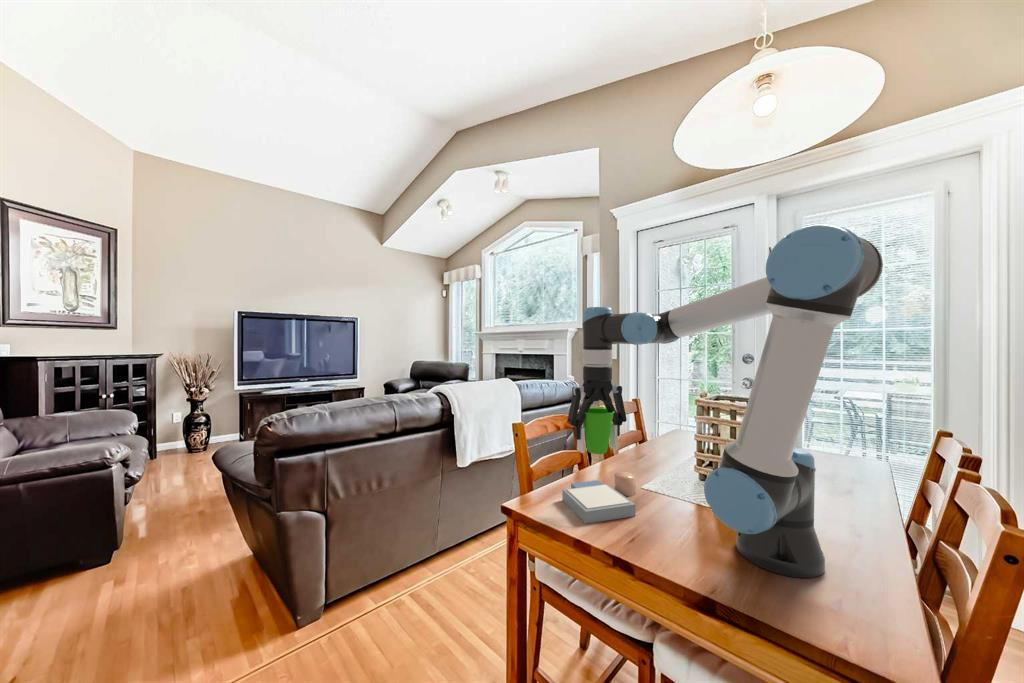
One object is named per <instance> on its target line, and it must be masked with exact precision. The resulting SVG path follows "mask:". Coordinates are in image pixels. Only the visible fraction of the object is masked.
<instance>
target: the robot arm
mask: <svg viewBox="0 0 1024 683" xmlns="http://www.w3.org/2000/svg"><path fill="white" fill-rule="evenodd" d="M883 268H884V263H883V257H882V255H881V253H880V251H879V249H878V248H877V247H876V246H875V245H874V243H872V242H870V241H869V240H867V239H865V238H862V237H860V236H858V235H857V234H856V233H855V232H852V231H851V230H849V229H848V228H845V227H841V226H834V225H829V224H814V225H812V224H811V225H808V226H803V227H801V228H798V229H796V230H793V231H791V232H790V233H788V234H787V235H785V236H784V237H782V238H781V239H780V240H779V241H778V242H777V243H776V244H775V245H774V247H773V248H772V249H771V250H770V252H769V254H768V256H767V259H766V263H765V277H763V278H760V279H757V280H754V281H751V282H748V283H744V284H742V285H739V286H736V287H734V288H733V287H732V288H731V289H730V288H729V289H727V290H725V291H722V292H718V293H716V294H713V295H710V296H707V297H705V298H701V299H699V300H696V301H693V302H690V303H687V304H683V305H681V306H678V307H675V308H672V309H670V310H666V311H664V312H661V313H656V314H655V313H649V312H642V311H641V312H637V311H635V312H628V313H626V312H625V313H616V314H615V313H613V309H612V307H610V306H591V307H586V308H584V311H583V318H582V333H583V337H582V340H583V341H582V343H583V345H582V346H583V347H582V348H583V350H582V351H583V352H582V353H583V354H582V358H583V359H582V363H583V364H584V366H583V367H582V381H583V384H582V385H581V386H577V387H576V386H573V387H571V388H572V389H571V392H572V398H571V403H570V406H569V410H568V412H569V413H568V417H567V422H566V423H567V424H569V425H570V426H573V431H574V432H573V437H574V439H576V450H577V451H578V452H580V453H581V454H585V432H584V426H583V422H584V420H585V417H586V414H585V412H587V413H588V411H589V409H590V407H592V405H593V404H594V402H598V401H600V402H603V404H604V408H606V409H607V411H608V412H609V413H612V411H613V410H614V411H615V413H613V419H612V425H611V431H610V437H609V448H611V449H612V450H615V451H617V450H618V437H620V434H621V433H620V432H621V426H622V425H623V423H626V422H627V415H626V408H625V404H624V400H623V395H622V394H623V386H622V385H618V384H614V385H613V382H612V380H613V367H612V366H611V365H613V344H623V345H634V346H637V345H639V346H641V345H648V344H671V343H674V342H676V341H679V339H681V338H685V337H689V336H692V335H695V334H698V333H704V332H708V331H710V330H711V331H712V330H714V329H718V328H721V327H725V326H729V325H733V324H736V323H740V322H745V321H748V320H751V319H756V318H759V317H763V316H766V315H770V314H772V317H771V322H770V324H769V328H768V332H767V335H766V338H765V342H764V346H763V349H762V352H761V356H760V359H759V362H758V366H757V368H756V373H755V376H754V381H753V384H752V386H751V390H750V393H749V398H748V400H747V403H746V407H745V411H744V413H743V418H742V420H741V424H740V428H739V430H738V434H737V437H736V439H734V440H732V441H730V442H727V443H725V445H724V449H723V452H722V456H721V459H720V462H719V465H718V467H717V468H715V469H713V470H711V472H710V473H709V474H708V475H707V477H706V478H705V480H704V484H703V492H704V494H703V495H704V498H705V501H706V503H707V505H708V506H709V508H710V509H711V512H712V514H713V515H714V516H715V517H716V518H717V519H718V520H719V521H720V522H721V523H722V524H723V525H724V526H726V527H728V528H729V529H731V530H733V531H736V532H737V533H736V544H735V545H736V549H737V551H738V552H739V554H740V555H741V556H743V557H744V558H745V559H746V560H747V561H748V562H750V563H752V564H754V565H756V566H757V567H760V568H762V569H764V570H766V571H770V572H772V573H775V574H778V575H780V576H781V575H782V576H785V577H786V576H787V577H791V578H800V579H811V578H816V577H820V576H821V575H823V574H824V573H825V571H826V568H825V567H826V559H825V558H826V557H825V554H824V552H823V550H822V547H821V544H820V541H819V539H818V535H817V532H816V529H815V488H816V487H815V484H816V483H815V482H816V481H815V479H816V476H815V474H816V471H817V468H816V465H815V457H814V455H813V454H812V453H811V452H809V451H807V450H804V449H802V448H799V447H798V448H796V445H797V442H798V439H799V436H800V434H801V430H802V427H803V424H804V421H805V418H806V415H807V413H808V412H807V411H808V409H809V406H810V403H811V400H812V396H813V394H814V392H815V388H816V385H817V382H818V378H819V375H820V373H821V369H822V367H823V363H824V360H825V358H826V355H827V351H828V349H829V346H830V343H831V342H830V341H831V339H832V337H833V333H834V330H835V327H836V326H837V325H839V324H841V323H843V322H846V321H847V320H849V319H851V317H852V314H853V311H854V309H855V306H856V304H857V303H856V302H857V300H858V298H859V297H861V296H863V295H865V294H866V293H868V292H870V290H871V289H872V288H874V287H875V285H876V284H877V283H878V281H879V280H880V278H881V276H882V273H883ZM611 392H612V395H613V396H612V397H613V399H612V397H611V395H610V394H611ZM583 393H584V397H583V398H582V395H583ZM581 399H582V403H581ZM613 401H614V404H613ZM580 404H581V406H580ZM614 405H615V406H614Z"/></svg>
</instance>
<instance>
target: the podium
mask: <svg viewBox="0 0 1024 683" xmlns="http://www.w3.org/2000/svg"><path fill="white" fill-rule="evenodd" d="M561 492H562V493H561V494H562V502H564V503H565V504H566V506H568V507H569V509H571V511H573V513H574V514H575V515H576V516H578V517H579V519H580V520H582V522H583V523H584V524H592V523H600V522H605V521H606V522H607V521H611V520H612V521H613V520H618V519H623V518H624V519H625V518H632V517H636V503H634V502H633V501H631V499H629V498H627V496H623V495H622V494H620V493H619V492H618V491H616V490H615V488H613V487H612V486H611V485H609V484H608V483H603V485H595V486H587V487H579V488H571V487H570V488H564V489H562V490H561Z"/></svg>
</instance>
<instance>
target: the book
mask: <svg viewBox="0 0 1024 683" xmlns="http://www.w3.org/2000/svg"><path fill="white" fill-rule="evenodd" d="M603 484H604V483H602V482H601V481H600V480H599V479H597V480H589V481H581V482H580V481H579V482H572V483H570V489H571V488H579V487H587V486H595V485H603Z"/></svg>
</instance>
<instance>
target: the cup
mask: <svg viewBox="0 0 1024 683" xmlns="http://www.w3.org/2000/svg"><path fill="white" fill-rule="evenodd" d="M613 413H615V411H614V410H613V411H612V413H609V412H608V411H607V409H606V407H599V406H597V407H596V406H594V407H592V406H590V409H589V411H588V413H587V412H585V414H586V417H585V420H584V422H583V424H582V427H584V440H585V444H586V449H587V452H588V453H590V454H593V455H604V454H606V453H607V452H608V448H609V444H610V431H611V425H612V423H613V422H612V419H613Z"/></svg>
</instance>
